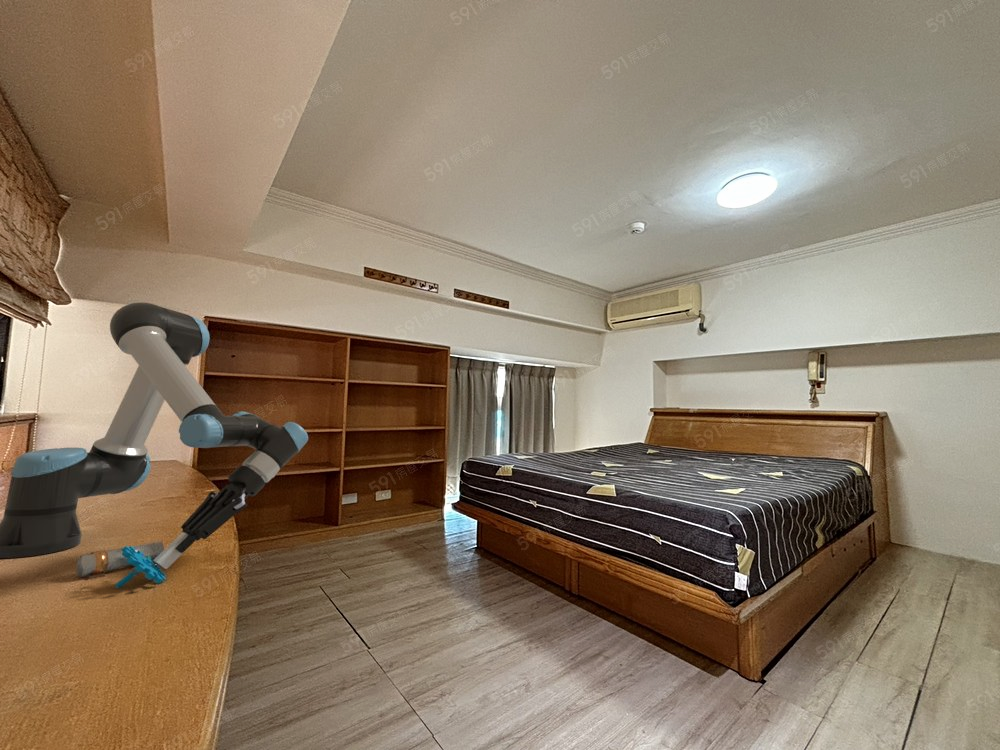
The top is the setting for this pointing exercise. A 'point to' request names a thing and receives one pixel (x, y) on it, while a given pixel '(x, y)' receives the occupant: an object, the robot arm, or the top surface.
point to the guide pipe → (112, 560)
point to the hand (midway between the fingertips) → (159, 564)
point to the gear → (141, 566)
